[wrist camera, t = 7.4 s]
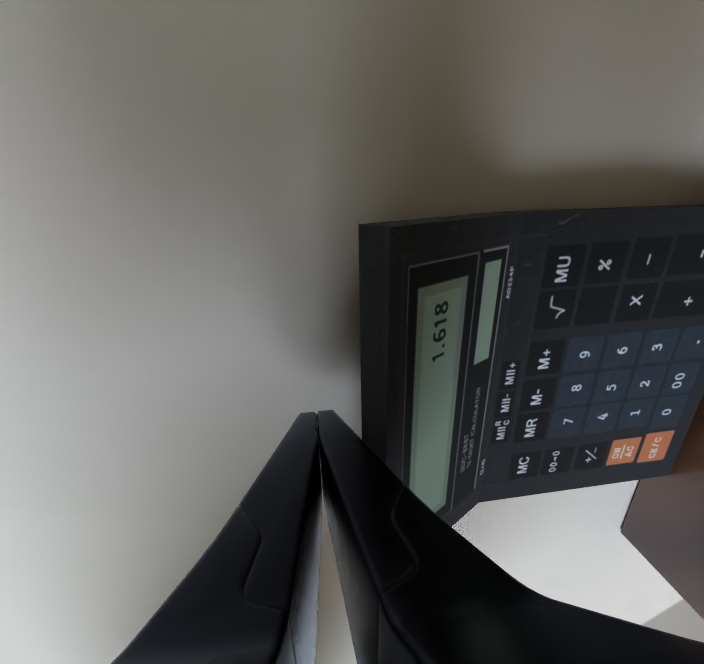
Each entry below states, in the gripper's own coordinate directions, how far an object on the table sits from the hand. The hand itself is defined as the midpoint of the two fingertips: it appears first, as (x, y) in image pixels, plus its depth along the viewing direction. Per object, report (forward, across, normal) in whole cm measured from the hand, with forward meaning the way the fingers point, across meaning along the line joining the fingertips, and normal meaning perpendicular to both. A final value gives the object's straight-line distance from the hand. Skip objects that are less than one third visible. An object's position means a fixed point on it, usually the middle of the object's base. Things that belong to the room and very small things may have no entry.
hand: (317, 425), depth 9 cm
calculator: (+2, -7, 0) cm, 7 cm away
